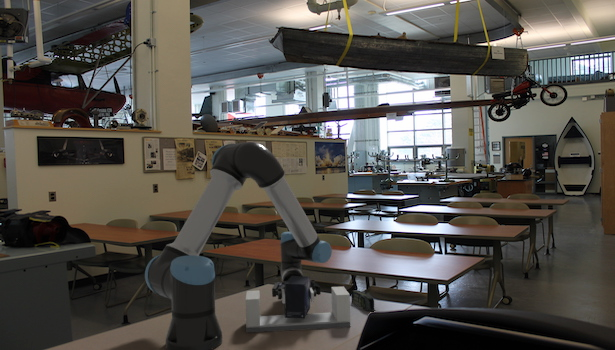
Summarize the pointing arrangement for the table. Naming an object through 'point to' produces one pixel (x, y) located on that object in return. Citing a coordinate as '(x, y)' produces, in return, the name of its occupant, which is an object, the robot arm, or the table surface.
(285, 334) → the table surface
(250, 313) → the block
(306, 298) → the small box
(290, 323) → the panel
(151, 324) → the table surface
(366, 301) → the mobile phone
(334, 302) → the block
